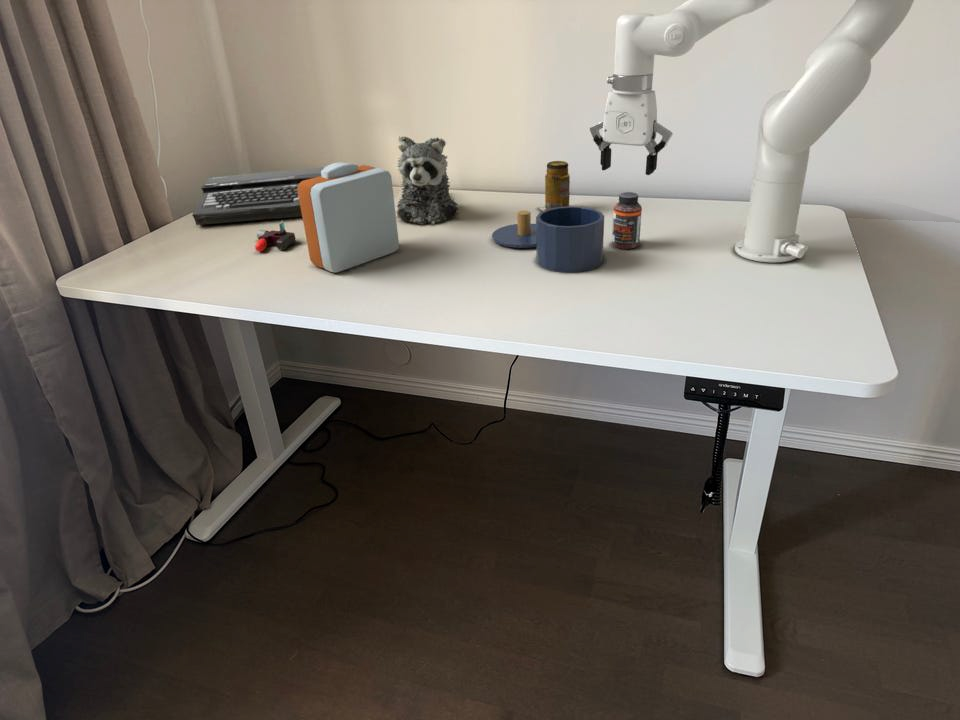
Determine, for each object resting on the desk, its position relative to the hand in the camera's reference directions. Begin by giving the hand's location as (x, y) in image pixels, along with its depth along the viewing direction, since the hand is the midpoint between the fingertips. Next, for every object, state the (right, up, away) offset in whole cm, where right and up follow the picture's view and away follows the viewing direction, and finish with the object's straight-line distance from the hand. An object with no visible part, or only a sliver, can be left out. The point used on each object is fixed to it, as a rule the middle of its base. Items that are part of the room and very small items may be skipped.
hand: (627, 171), depth 144 cm
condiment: (-11, -2, +31) cm, 33 cm away
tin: (-12, -18, +2) cm, 22 cm away
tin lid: (-21, -11, +14) cm, 27 cm away
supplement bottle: (+1, -14, +8) cm, 16 cm away
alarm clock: (-58, -17, +9) cm, 61 cm away
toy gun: (-81, -13, +19) cm, 84 cm away
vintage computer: (-85, +3, +48) cm, 98 cm away
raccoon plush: (-46, -1, +37) cm, 59 cm away
